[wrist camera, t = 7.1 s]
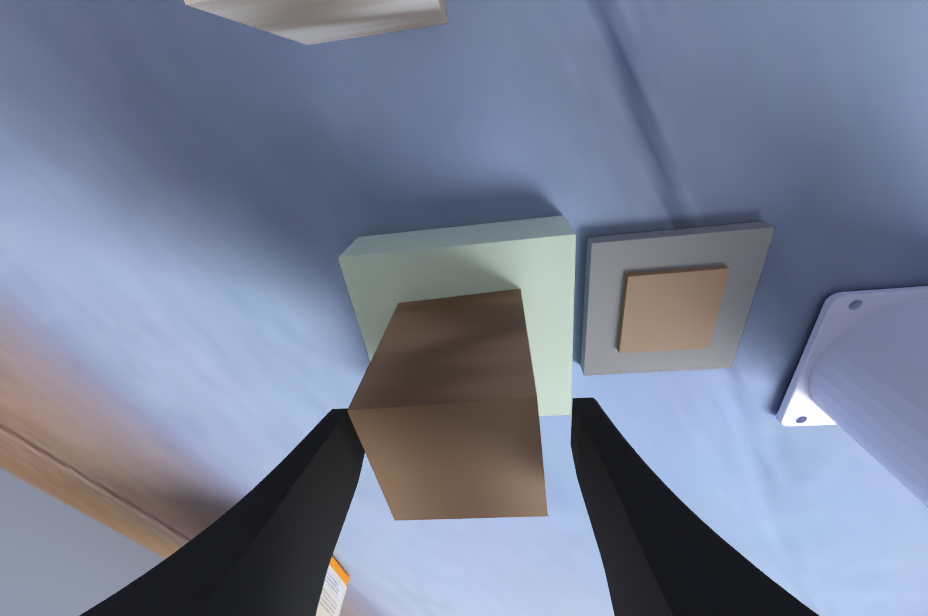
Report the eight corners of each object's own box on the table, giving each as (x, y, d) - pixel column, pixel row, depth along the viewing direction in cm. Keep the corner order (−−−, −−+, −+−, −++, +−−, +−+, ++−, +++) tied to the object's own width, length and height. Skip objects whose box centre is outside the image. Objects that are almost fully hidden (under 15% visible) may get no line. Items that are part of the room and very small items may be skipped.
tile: (761, 221, 15) (781, 229, 14) (722, 357, 18) (735, 371, 17) (587, 237, 16) (593, 245, 15) (580, 365, 19) (585, 379, 18)
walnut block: (520, 288, 14) (537, 396, 9) (530, 385, 17) (547, 516, 11) (398, 303, 15) (346, 410, 10) (424, 394, 17) (394, 520, 12)
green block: (560, 212, 16) (576, 234, 13) (559, 374, 20) (570, 414, 17) (361, 233, 17) (337, 258, 14) (401, 383, 21) (389, 423, 18)
